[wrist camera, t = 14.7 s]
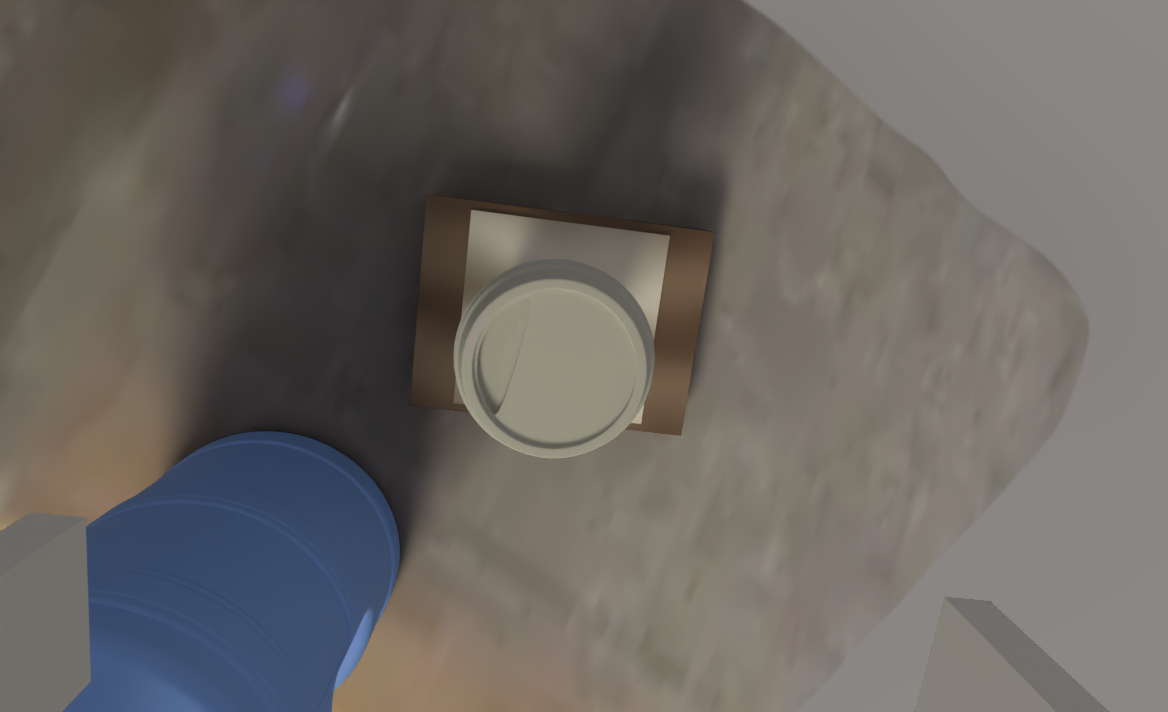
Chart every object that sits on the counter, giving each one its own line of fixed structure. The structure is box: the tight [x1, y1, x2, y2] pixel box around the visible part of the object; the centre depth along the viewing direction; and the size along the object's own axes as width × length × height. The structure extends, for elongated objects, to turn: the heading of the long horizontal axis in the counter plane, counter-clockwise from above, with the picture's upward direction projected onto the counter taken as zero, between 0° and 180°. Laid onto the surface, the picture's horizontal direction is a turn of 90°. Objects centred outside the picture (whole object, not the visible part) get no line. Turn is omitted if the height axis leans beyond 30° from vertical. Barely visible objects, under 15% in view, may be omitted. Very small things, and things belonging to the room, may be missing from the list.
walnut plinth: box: [410, 195, 715, 436], centre depth 41 cm, size 12×16×3 cm
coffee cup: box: [454, 259, 655, 458], centre depth 34 cm, size 8×8×12 cm
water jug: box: [62, 431, 400, 712], centre depth 32 cm, size 16×16×28 cm
